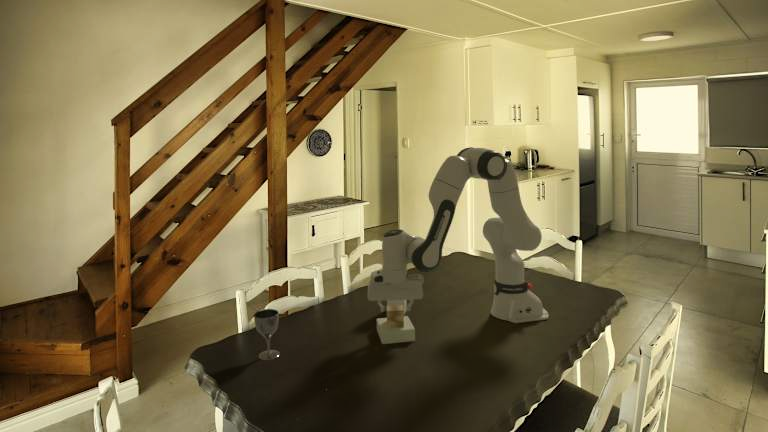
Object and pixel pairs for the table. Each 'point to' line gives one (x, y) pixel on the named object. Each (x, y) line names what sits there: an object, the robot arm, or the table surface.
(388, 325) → the oak cube
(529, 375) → the table surface
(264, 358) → the wine glass
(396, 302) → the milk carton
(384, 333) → the sage block
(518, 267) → the robot arm
